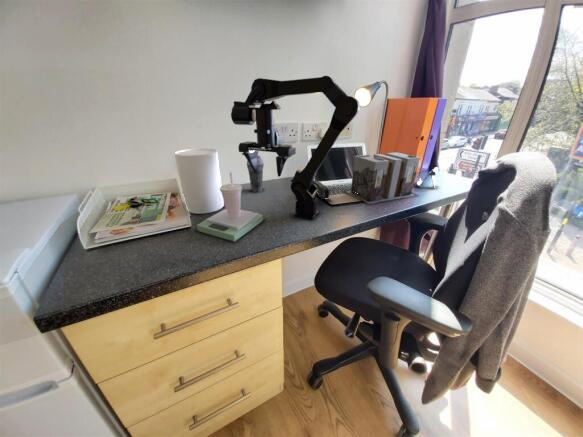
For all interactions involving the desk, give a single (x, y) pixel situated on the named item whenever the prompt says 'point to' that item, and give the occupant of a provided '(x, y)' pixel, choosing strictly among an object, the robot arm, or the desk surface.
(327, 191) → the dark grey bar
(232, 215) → the smoothie
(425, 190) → the desk surface
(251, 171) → the beverage cup
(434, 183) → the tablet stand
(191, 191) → the canister
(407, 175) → the bookend
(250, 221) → the scale
